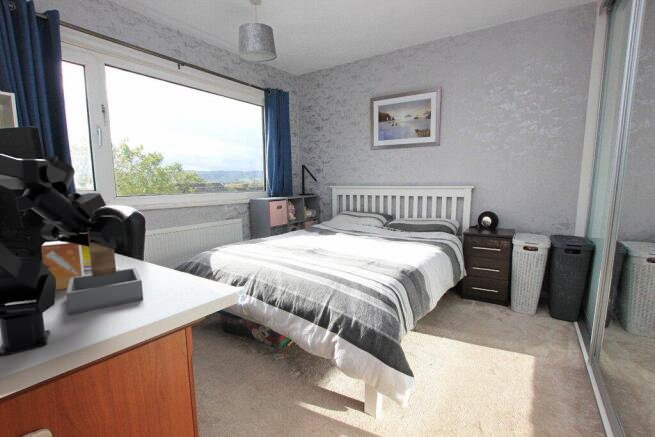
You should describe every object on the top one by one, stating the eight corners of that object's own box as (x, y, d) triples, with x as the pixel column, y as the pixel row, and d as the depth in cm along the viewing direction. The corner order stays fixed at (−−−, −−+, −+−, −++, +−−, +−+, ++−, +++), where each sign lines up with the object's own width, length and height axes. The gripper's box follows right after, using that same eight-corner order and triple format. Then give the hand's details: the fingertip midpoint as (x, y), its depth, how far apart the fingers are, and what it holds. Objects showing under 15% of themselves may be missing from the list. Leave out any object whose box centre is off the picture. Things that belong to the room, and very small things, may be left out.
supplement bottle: (107, 267, 111) (104, 231, 109) (85, 272, 105) (81, 234, 103) (99, 264, 114) (95, 229, 113) (77, 269, 109) (72, 232, 107)
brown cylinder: (116, 274, 80) (111, 223, 78) (92, 278, 77) (86, 225, 75) (115, 269, 84) (110, 221, 82) (92, 273, 81) (86, 223, 79)
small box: (46, 292, 86) (40, 245, 85) (50, 285, 91) (44, 241, 90) (83, 286, 91) (78, 241, 89) (85, 280, 96) (80, 238, 94)
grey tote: (143, 299, 80) (141, 280, 79) (68, 314, 71) (66, 293, 70) (136, 284, 91) (135, 267, 91) (72, 296, 83) (70, 277, 82)
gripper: (111, 180, 71) (152, 222, 83) (48, 182, 76) (96, 221, 88) (80, 219, 65) (130, 259, 77) (13, 218, 69) (70, 256, 81)
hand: (106, 247), depth 81 cm, fingers closed on brown cylinder, 5 cm apart
